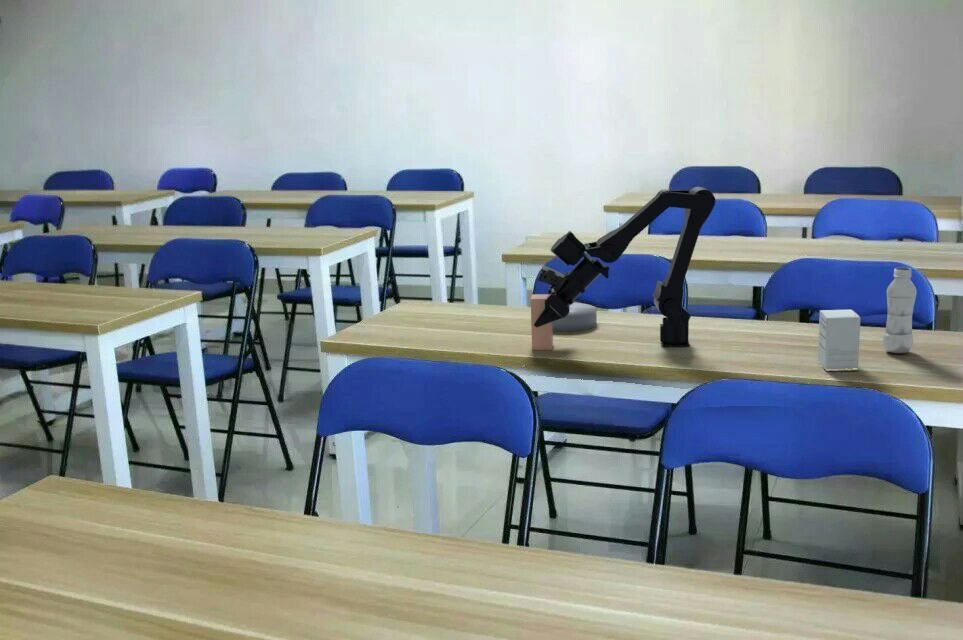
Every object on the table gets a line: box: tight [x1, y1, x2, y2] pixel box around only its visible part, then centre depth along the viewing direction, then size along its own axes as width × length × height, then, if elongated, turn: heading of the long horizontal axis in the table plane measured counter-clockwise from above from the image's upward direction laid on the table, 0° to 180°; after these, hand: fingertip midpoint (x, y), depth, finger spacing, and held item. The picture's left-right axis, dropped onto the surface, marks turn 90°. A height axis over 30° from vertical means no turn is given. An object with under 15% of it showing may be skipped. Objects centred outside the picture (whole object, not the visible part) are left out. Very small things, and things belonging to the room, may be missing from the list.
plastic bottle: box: [882, 267, 918, 354], centre depth 233 cm, size 6×7×20 cm
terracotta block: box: [530, 293, 554, 351], centre depth 251 cm, size 5×5×13 cm
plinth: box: [553, 302, 598, 332], centre depth 273 cm, size 16×16×4 cm
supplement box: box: [817, 309, 862, 369], centre depth 225 cm, size 7×7×13 cm
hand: (536, 321), depth 251 cm, fingers open, 9 cm apart
